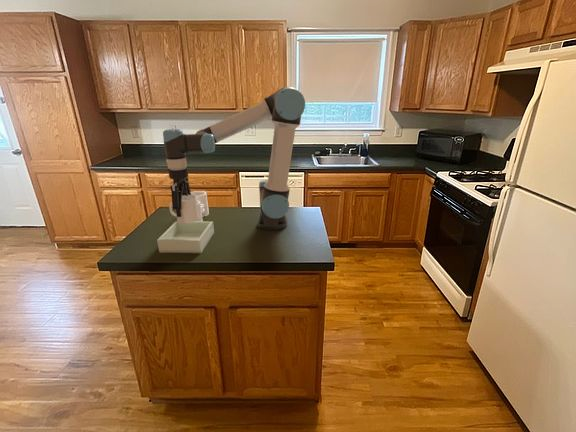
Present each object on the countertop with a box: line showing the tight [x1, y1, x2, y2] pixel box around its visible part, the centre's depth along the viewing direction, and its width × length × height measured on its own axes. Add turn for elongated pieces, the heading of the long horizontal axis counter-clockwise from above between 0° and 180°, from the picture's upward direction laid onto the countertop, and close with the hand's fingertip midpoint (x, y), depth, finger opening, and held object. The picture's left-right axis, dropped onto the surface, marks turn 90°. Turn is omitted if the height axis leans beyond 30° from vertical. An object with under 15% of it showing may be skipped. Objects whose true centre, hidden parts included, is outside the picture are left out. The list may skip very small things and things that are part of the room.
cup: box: [168, 195, 199, 223], centre depth 133 cm, size 8×12×10 cm
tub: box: [156, 220, 215, 254], centre depth 138 cm, size 18×20×6 cm
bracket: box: [190, 190, 210, 222], centre depth 162 cm, size 25×10×12 cm, turn 5°
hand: (184, 219), depth 135 cm, fingers closed on cup, 8 cm apart
